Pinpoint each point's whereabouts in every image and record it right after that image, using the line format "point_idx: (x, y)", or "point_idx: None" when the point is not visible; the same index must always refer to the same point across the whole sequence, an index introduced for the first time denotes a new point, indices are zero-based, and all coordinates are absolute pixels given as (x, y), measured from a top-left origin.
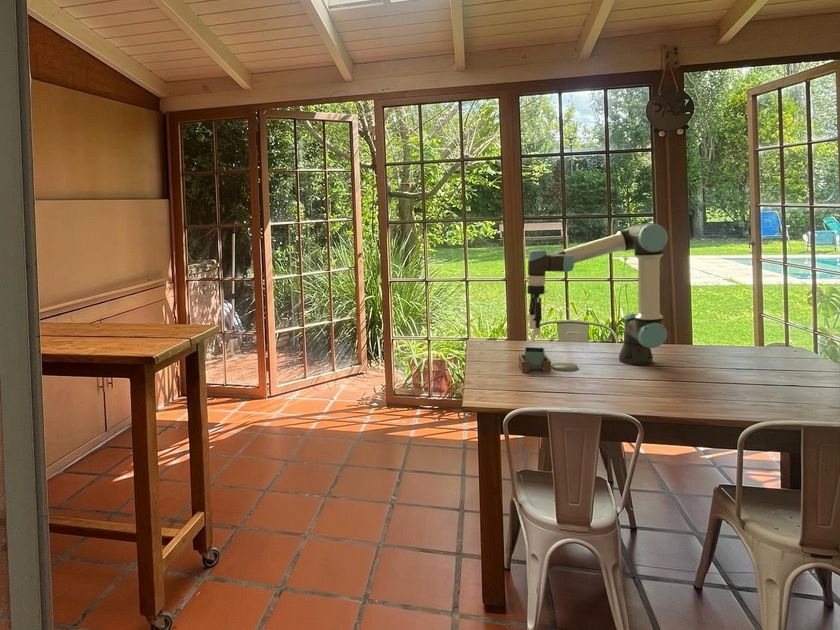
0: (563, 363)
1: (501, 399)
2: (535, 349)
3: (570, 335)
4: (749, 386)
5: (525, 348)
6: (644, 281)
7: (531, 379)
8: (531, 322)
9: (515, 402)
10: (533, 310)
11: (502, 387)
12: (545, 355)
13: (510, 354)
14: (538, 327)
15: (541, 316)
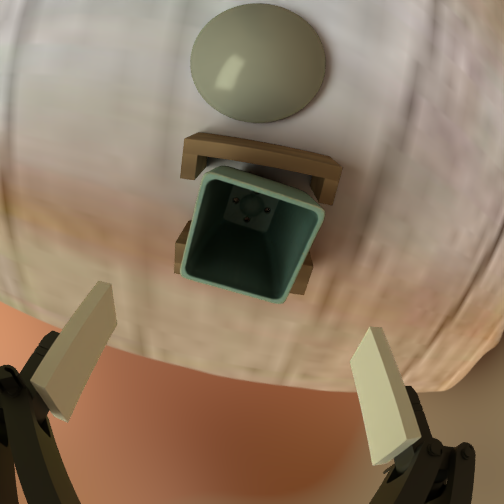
0: (210, 49)
1: (464, 352)
2: (199, 219)
3: None
4: None
5: (210, 282)
6: None
7: (388, 262)
8: (91, 353)
9: (487, 333)
10: (54, 463)
11: (412, 345)
12: (202, 146)
13: (46, 232)
14: (410, 393)
15: (474, 468)
